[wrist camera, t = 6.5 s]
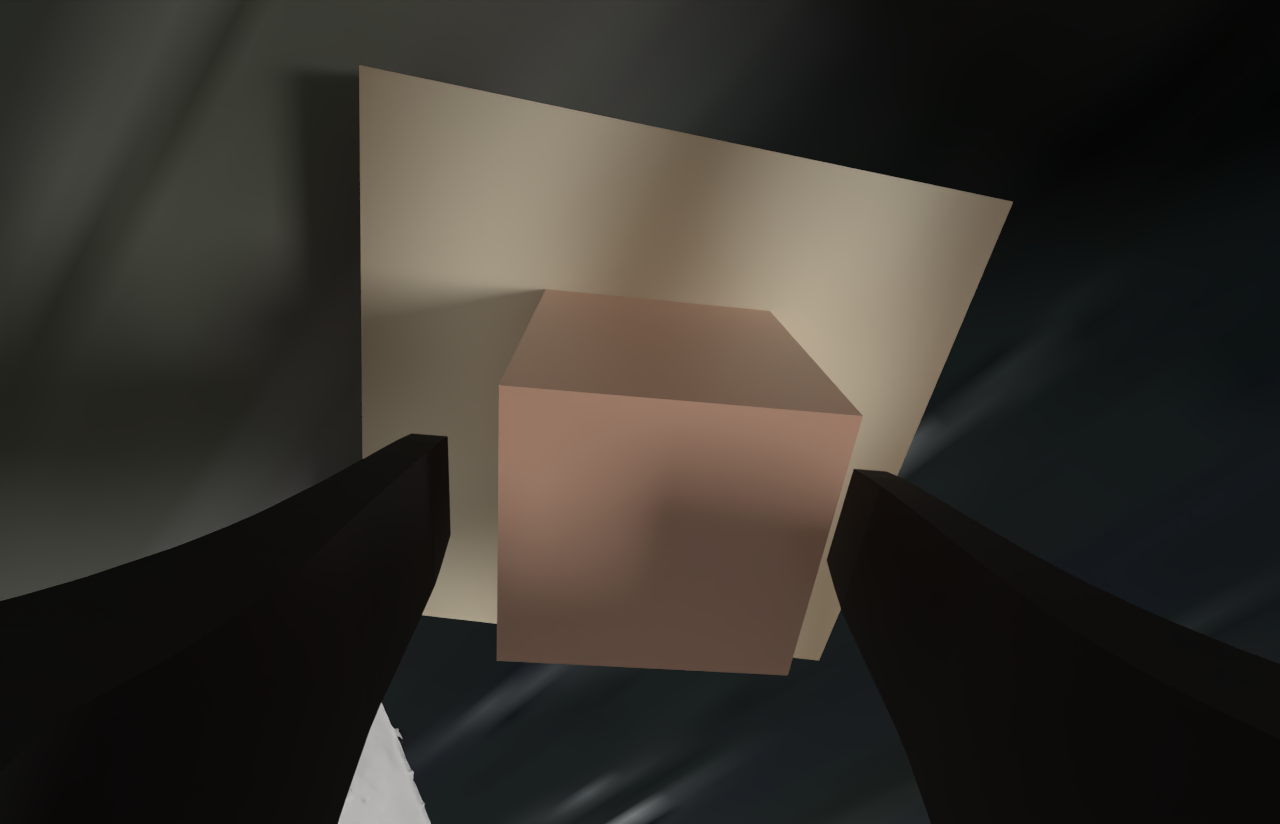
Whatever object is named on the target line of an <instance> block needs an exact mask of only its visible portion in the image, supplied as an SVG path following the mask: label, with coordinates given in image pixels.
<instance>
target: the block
mask: <svg viewBox="0 0 1280 824" xmlns="http://www.w3.org/2000/svg"><path fill="white" fill-rule="evenodd" d="M862 418H863V415H862V414H861V413H860V412H859V411H858V410H857V409H856V408H855V406H854V405H853V404H852V403H851V402H850V401H849V400H848V399H847V397H846V396H845V395H844V394H843V393H842V392H841V391H840V390H839V388H838V387H837V386H836V385H835V384H834V383H833V382H832V381H831V379H830V378H829V377H828V376H827V375H826V374H825V373H824V371H823V370H822V369H821V368H820V367H819V366H818V365H817V364H816V362H815V361H814V360H813V359H812V358H811V357H810V356H809V355H808V353H807V352H806V351H805V350H804V349H803V348H802V347H801V346H800V344H799V343H798V342H797V341H796V340H795V339H794V338H793V337H792V335H791V334H790V333H789V332H788V331H787V330H786V329H785V327H784V326H783V325H782V324H781V323H780V322H779V321H778V320H777V318H776V317H775V316H774V315H773V314H772V313H771V312H770V311H765V310H755V309H745V308H734V307H724V306H714V305H703V304H693V303H683V302H673V301H662V300H652V299H642V298H631V297H621V296H611V295H600V294H590V293H580V292H569V291H559V290H549V289H546V290H545V292H544V294H543V296H542V298H541V300H540V302H539V304H538V306H537V308H536V310H535V312H534V314H533V316H532V318H531V320H530V322H529V325H528V327H527V329H526V331H525V333H524V335H523V337H522V339H521V341H520V343H519V345H518V347H517V349H516V351H515V353H514V355H513V357H512V359H511V361H510V363H509V365H508V368H507V370H506V372H505V374H504V376H503V378H502V380H501V382H500V384H499V434H498V571H497V661H514V662H534V663H554V664H574V665H594V666H614V667H633V668H653V669H673V670H693V671H713V672H733V673H752V674H772V675H788V673H789V669H790V666H791V662H792V659H793V655H794V652H795V649H796V645H797V642H798V638H799V635H800V631H801V628H802V624H803V621H804V618H805V614H806V611H807V607H808V604H809V600H810V597H811V593H812V590H813V587H814V583H815V580H816V576H817V573H818V569H819V566H820V562H821V559H822V555H823V552H824V549H825V545H826V542H827V538H828V535H829V531H830V528H831V524H832V521H833V518H834V514H835V511H836V507H837V504H838V500H839V497H840V493H841V490H842V487H843V483H844V480H845V476H846V473H847V469H848V466H849V462H850V459H851V456H852V452H853V449H854V445H855V442H856V438H857V435H858V431H859V428H860V425H861V421H862Z"/></svg>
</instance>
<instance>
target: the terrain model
mask: <svg viewBox="0 0 1280 824" xmlns="http://www.w3.org/2000/svg"><path fill="white" fill-rule="evenodd" d="M397 736H399V737H401V738H402V736H401V734H400V733H399V729H398V728H397V729H394V728H393V727H392V726H391V724H390V721H389V719H388V716H387V714H386V712H385V710H384V707H383V705H382V703H381V704H380V707H379V709H378V712H377V714H376V717H375V719H374V721H373V724H372V726H371V729H370V731H369V734H368V737H367V740H366V742H365V745H364V748H363V751H362V754H361V757H360V760H359V763H358V766H357V768H356V771H355V774H354V777H353V780H352V783H351V786H350V789H349V791H348V794H347V797H346V800H345V803H344V806H343V809H342V812H341V815H340V818H339V821H338V824H431V823H430V820H429V818H428V816H427V813H426V811H425V808H424V805H425V804H426V803H425V804H424V802H423V801H422V799H421V797H420V794H419V792H418V789H417V786H416V784H415V783H414V781H413V774H414V771H413V770H411V769H410V766H409V764H408V762H407V760H406V758H405V755H404V752H403V749H402V747H401V744H400V742H399V740H398V738H397ZM402 743H403V742H402Z"/></svg>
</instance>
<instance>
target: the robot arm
mask: <svg viewBox="0 0 1280 824" xmlns="http://www.w3.org/2000/svg"><path fill="white" fill-rule="evenodd" d="M450 535H451V527H450V493H449V460H448V436H438V435H425V434H413V433H411V434H409V435H407V436H404V437H402V438H400V439H398V440H396V441H395V442H393V443H391V444H389V445H387V446H385V447H383V448H382V449H380V450H378V451H376V452H375V453H373V454H371V455H369V456H367V457H366V458H364V459H362V460H360V461H358V462H357V463H355V464H353V465H351V466H349V467H348V468H346V469H344V470H342V471H340V472H339V473H337V474H335V475H333V476H331V477H329V478H328V479H326V480H324V481H322V482H320V483H318V484H316V485H314V486H312V487H310V488H308V489H306V490H304V491H302V492H300V493H298V494H296V495H294V496H292V497H290V498H288V499H286V500H284V501H282V502H280V503H278V504H276V505H274V506H272V507H270V508H268V509H266V510H264V511H262V512H259V513H257V514H255V515H253V516H251V517H248V518H246V519H244V520H241V521H239V522H237V523H235V524H232V525H230V526H228V527H225V528H223V529H220V530H218V531H215V532H213V533H210V534H208V535H205V536H202V537H200V538H197V539H195V540H192V541H190V542H187V543H185V544H182V545H179V546H177V547H174V548H171V549H168V550H165V551H162V552H159V553H156V554H153V555H150V556H147V557H144V558H141V559H138V560H135V561H132V562H129V563H126V564H123V565H120V566H117V567H114V568H111V569H108V570H105V571H103V572H100V573H97V574H94V575H91V576H88V577H84V578H81V579H78V580H74V581H71V582H68V583H64V584H61V585H57V586H54V587H50V588H47V589H43V590H40V591H36V592H33V593H29V594H26V595H22V596H18V597H14V598H11V599H7V600H3V601H0V824H338V821H339V818H340V815H341V812H342V809H343V806H344V803H345V800H346V797H347V794H348V791H349V789H350V786H351V783H352V780H353V777H354V774H355V771H356V768H357V766H358V763H359V760H360V757H361V754H362V751H363V748H364V745H365V742H366V740H367V737H368V734H369V731H370V729H371V726H372V724H373V721H374V719H375V717H376V714H377V712H378V709H379V707H380V704H381V702H382V700H383V698H384V695H385V693H386V691H387V689H388V687H389V685H390V683H391V680H392V678H393V676H394V674H395V672H396V670H397V667H398V665H399V663H400V661H401V659H402V657H403V655H404V652H405V650H406V648H407V646H408V644H409V642H410V639H411V637H412V635H413V633H414V631H415V629H416V627H417V624H418V622H419V620H420V618H421V616H422V613H423V611H424V609H425V607H426V605H427V602H428V600H429V598H430V596H431V594H432V591H433V589H434V587H435V585H436V581H437V578H438V575H439V572H440V569H441V566H442V563H443V559H444V556H445V552H446V549H447V546H448V542H449V539H450ZM827 564H828V567H829V571H830V574H831V578H832V582H833V585H834V589H835V592H836V595H837V598H838V601H839V604H840V607H841V610H842V612H843V615H844V617H845V619H846V622H847V624H848V626H849V628H850V630H851V633H852V635H853V637H854V639H855V641H856V644H857V646H858V648H859V650H860V652H861V654H862V656H863V659H864V661H865V663H866V665H867V667H868V669H869V671H870V674H871V676H872V678H873V680H874V682H875V684H876V686H877V688H878V691H879V693H880V695H881V697H882V699H883V701H884V703H885V706H886V708H887V710H888V712H889V714H890V716H891V718H892V720H893V723H894V725H895V727H896V729H897V732H898V734H899V737H900V739H901V741H902V744H903V746H904V748H905V751H906V753H907V756H908V759H909V762H910V764H911V767H912V770H913V773H914V776H915V779H916V781H917V784H918V787H919V790H920V793H921V796H922V799H923V801H924V804H925V807H926V810H927V813H928V816H929V819H930V822H931V824H1280V664H1278V663H1275V662H1273V661H1270V660H1267V659H1265V658H1262V657H1259V656H1257V655H1254V654H1251V653H1248V652H1246V651H1243V650H1241V649H1238V648H1235V647H1233V646H1230V645H1228V644H1225V643H1223V642H1221V641H1218V640H1216V639H1213V638H1211V637H1208V636H1206V635H1203V634H1201V633H1198V632H1196V631H1193V630H1191V629H1189V628H1186V627H1184V626H1181V625H1179V624H1176V623H1174V622H1172V621H1169V620H1167V619H1165V618H1162V617H1160V616H1158V615H1155V614H1153V613H1151V612H1149V611H1146V610H1144V609H1142V608H1140V607H1137V606H1135V605H1133V604H1131V603H1129V602H1127V601H1125V600H1123V599H1120V598H1118V597H1116V596H1114V595H1112V594H1110V593H1108V592H1106V591H1104V590H1101V589H1099V588H1097V587H1095V586H1093V585H1091V584H1089V583H1087V582H1085V581H1083V580H1081V579H1079V578H1077V577H1075V576H1073V575H1071V574H1069V573H1067V572H1065V571H1063V570H1061V569H1059V568H1058V567H1056V566H1054V565H1052V564H1050V563H1048V562H1047V561H1045V560H1043V559H1041V558H1039V557H1037V556H1036V555H1034V554H1032V553H1030V552H1028V551H1026V550H1024V549H1023V548H1021V547H1019V546H1017V545H1016V544H1014V543H1012V542H1010V541H1009V540H1007V539H1005V538H1003V537H1002V536H1000V535H998V534H996V533H995V532H993V531H991V530H990V529H988V528H986V527H985V526H983V525H981V524H979V523H978V522H976V521H974V520H973V519H971V518H969V517H968V516H966V515H964V514H963V513H961V512H959V511H958V510H956V509H954V508H953V507H951V506H949V505H948V504H946V503H944V502H943V501H941V500H939V499H938V498H936V497H934V496H933V495H931V494H929V493H927V492H926V491H924V490H922V489H920V488H919V487H917V486H915V485H913V484H912V483H910V482H908V481H906V480H904V479H902V478H900V477H898V476H896V475H894V474H891V473H889V472H887V471H875V470H863V469H853V473H852V476H851V480H850V483H849V486H848V490H847V493H846V496H845V500H844V503H843V506H842V510H841V513H840V516H839V520H838V523H837V526H836V530H835V533H834V537H833V540H832V543H831V547H830V550H829V553H828V557H827Z"/></svg>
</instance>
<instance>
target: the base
mask: <svg viewBox="0 0 1280 824" xmlns="http://www.w3.org/2000/svg"><path fill="white" fill-rule="evenodd" d="M359 113H360V232H361V351H362V459H364V458H366V457H367V456H369V455H371V454H373V453H375V452H376V451H378V450H380V449H382V448H383V447H385V446H387V445H389V444H391V443H393V442H395V441H396V440H398V439H400V438H402V437H404V436H407V435H409V434H411V433H413V434H425V435H438V436H448V460H449V493H450V527H451V535H450V539H449V542H448V546H447V549H446V552H445V556H444V559H443V563H442V566H441V569H440V572H439V575H438V578H437V581H436V585H435V587H434V589H433V591H432V594H431V596H430V598H429V600H428V602H427V605H426V607H425V609H424V611H423V613H422V615H426V616H434V617H443V618H452V619H461V620H469V621H478V622H487V623H496V624H497V571H498V434H499V384H500V382H501V380H502V378H503V376H504V374H505V372H506V370H507V368H508V365H509V363H510V361H511V359H512V357H513V355H514V353H515V351H516V349H517V347H518V345H519V343H520V341H521V339H522V337H523V335H524V333H525V331H526V329H527V327H528V325H529V322H530V320H531V318H532V316H533V314H534V312H535V310H536V308H537V306H538V304H539V302H540V300H541V298H542V296H543V294H544V292H545V290H546V289H549V290H559V291H569V292H580V293H590V294H600V295H611V296H621V297H631V298H642V299H652V300H662V301H673V302H683V303H693V304H703V305H714V306H724V307H734V308H745V309H755V310H765V311H770V312H771V313H772V314H773V315H774V316H775V317H776V318H777V320H778V321H779V322H780V323H781V324H782V325H783V326H784V327H785V329H786V330H787V331H788V332H789V333H790V334H791V335H792V337H793V338H794V339H795V340H796V341H797V342H798V343H799V344H800V346H801V347H802V348H803V349H804V350H805V351H806V352H807V353H808V355H809V356H810V357H811V358H812V359H813V360H814V361H815V362H816V364H817V365H818V366H819V367H820V368H821V369H822V370H823V371H824V373H825V374H826V375H827V376H828V377H829V378H830V379H831V381H832V382H833V383H834V384H835V385H836V386H837V387H838V388H839V390H840V391H841V392H842V393H843V394H844V395H845V396H846V397H847V399H848V400H849V401H850V402H851V403H852V404H853V405H854V406H855V408H856V409H857V410H858V411H859V412H860V413H861V414H862V415H863V418H862V421H861V425H860V428H859V431H858V435H857V438H856V442H855V445H854V449H853V452H852V456H851V459H850V462H849V466H848V469H847V473H846V476H845V480H844V483H843V487H842V490H841V493H840V497H839V500H838V504H837V507H836V511H835V514H834V518H833V521H832V524H831V528H830V531H829V535H828V538H827V542H826V545H825V549H824V552H823V555H822V559H821V562H820V566H819V569H818V573H817V576H816V580H815V583H814V587H813V590H812V593H811V597H810V600H809V604H808V607H807V611H806V614H805V618H804V621H803V624H802V628H801V631H800V635H799V638H798V642H797V645H796V649H795V652H794V655H793V658H802V659H811V660H819V659H820V657H821V654H822V652H823V650H824V647H825V645H826V643H827V640H828V638H829V635H830V633H831V631H832V628H833V626H834V624H835V621H836V619H837V617H838V614H839V612H840V610H841V607H840V604H839V601H838V598H837V595H836V592H835V589H834V585H833V582H832V578H831V574H830V571H829V567H828V564H827V557H828V553H829V550H830V547H831V543H832V540H833V537H834V533H835V530H836V526H837V523H838V520H839V516H840V513H841V510H842V506H843V503H844V500H845V496H846V493H847V490H848V486H849V483H850V480H851V476H852V473H853V469H863V470H875V471H887V472H889V473H891V474H894V475H896V476H897V475H898V473H899V470H900V468H901V465H902V463H903V461H904V458H905V456H906V454H907V451H908V449H909V447H910V444H911V442H912V440H913V437H914V435H915V432H916V430H917V428H918V425H919V423H920V421H921V418H922V416H923V414H924V411H925V409H926V406H927V404H928V402H929V399H930V397H931V395H932V392H933V390H934V388H935V385H936V383H937V381H938V378H939V376H940V373H941V371H942V369H943V366H944V364H945V362H946V359H947V357H948V355H949V352H950V350H951V347H952V345H953V343H954V340H955V338H956V336H957V333H958V331H959V329H960V326H961V324H962V321H963V319H964V317H965V314H966V312H967V310H968V307H969V305H970V303H971V300H972V298H973V296H974V293H975V291H976V288H977V286H978V284H979V281H980V279H981V277H982V274H983V272H984V270H985V267H986V265H987V262H988V260H989V258H990V255H991V253H992V251H993V248H994V246H995V244H996V241H997V239H998V236H999V234H1000V232H1001V229H1002V227H1003V225H1004V222H1005V220H1006V218H1007V215H1008V213H1009V211H1010V208H1011V206H1012V203H1013V202H1012V201H1007V200H1002V199H998V198H993V197H988V196H983V195H978V194H974V193H969V192H964V191H959V190H954V189H950V188H945V187H940V186H935V185H931V184H926V183H921V182H916V181H911V180H907V179H902V178H897V177H892V176H888V175H883V174H878V173H873V172H868V171H864V170H859V169H854V168H849V167H844V166H840V165H835V164H830V163H825V162H821V161H816V160H811V159H806V158H801V157H797V156H792V155H787V154H782V153H777V152H773V151H768V150H763V149H758V148H754V147H749V146H744V145H739V144H734V143H730V142H725V141H720V140H715V139H711V138H706V137H701V136H696V135H691V134H687V133H682V132H677V131H672V130H667V129H663V128H658V127H653V126H648V125H644V124H639V123H634V122H629V121H624V120H620V119H615V118H610V117H605V116H600V115H596V114H591V113H586V112H581V111H577V110H572V109H567V108H562V107H557V106H553V105H548V104H543V103H538V102H533V101H529V100H524V99H519V98H514V97H510V96H505V95H500V94H495V93H490V92H486V91H481V90H476V89H471V88H467V87H462V86H457V85H452V84H447V83H443V82H438V81H433V80H428V79H423V78H419V77H414V76H409V75H404V74H400V73H395V72H390V71H385V70H380V69H376V68H371V67H366V66H361V65H359Z"/></svg>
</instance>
